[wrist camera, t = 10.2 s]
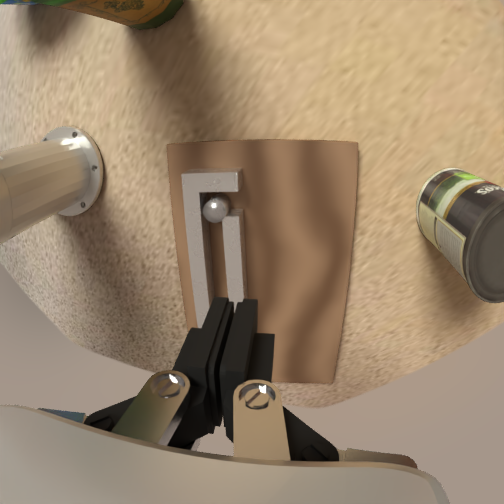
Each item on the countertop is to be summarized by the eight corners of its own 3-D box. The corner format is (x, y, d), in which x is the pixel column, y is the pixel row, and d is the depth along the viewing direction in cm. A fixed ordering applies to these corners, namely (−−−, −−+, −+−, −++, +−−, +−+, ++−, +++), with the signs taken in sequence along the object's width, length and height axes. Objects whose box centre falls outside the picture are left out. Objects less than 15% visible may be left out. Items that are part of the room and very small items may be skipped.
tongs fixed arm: (189, 169, 35) (179, 174, 32) (242, 167, 35) (237, 172, 32) (209, 361, 46) (204, 376, 43) (249, 364, 45) (246, 379, 43)
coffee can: (425, 157, 33) (488, 182, 20) (490, 179, 32) (559, 212, 19) (404, 238, 37) (450, 297, 24) (468, 253, 36) (522, 308, 23)
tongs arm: (209, 193, 36) (202, 200, 33) (243, 192, 35) (238, 199, 33) (226, 363, 46) (222, 378, 43) (252, 365, 45) (249, 380, 42)
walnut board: (198, 369, 49) (195, 375, 48) (171, 143, 36) (166, 144, 34) (331, 376, 47) (332, 383, 45) (355, 141, 33) (358, 143, 32)
